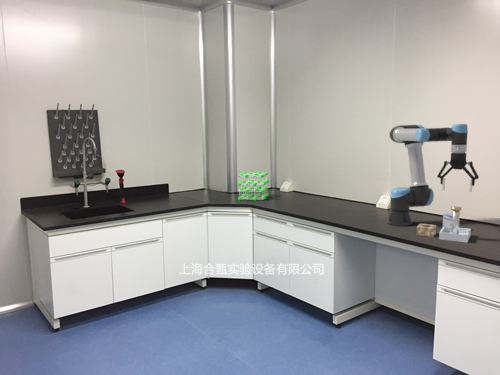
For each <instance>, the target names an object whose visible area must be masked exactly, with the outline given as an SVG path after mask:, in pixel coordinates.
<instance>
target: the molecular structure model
mask: <svg viewBox="0 0 500 375" xmlns="http://www.w3.org/2000/svg"><path fill="white" fill-rule="evenodd" d="M237 177H238V178H242V180H238V182H237V186H238V188H239V189H238V193H239V195H240V196H239V197H237V200H238V201H242V200H243V199H246V200H253V201H257V200H258V199H261V200H262V201H264V200H266V199H267V197H270V193H269V192H268V190H269V187H268V186H267V184H268V183H270V180H269V179H268V172H267V171H266V172H261V171H257V172H252V171H251V172H247V171H243V172H240V173H239V174H238V175H237ZM252 178H253V179H252ZM260 178H261V179H260ZM255 194H256V195H255Z"/></svg>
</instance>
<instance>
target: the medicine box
mask: <svg viewBox="0 0 500 375" xmlns="http://www.w3.org/2000/svg"><path fill="white" fill-rule="evenodd" d="M444 226H448V227H452V213H443V214H442V228H443V227H444Z"/></svg>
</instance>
